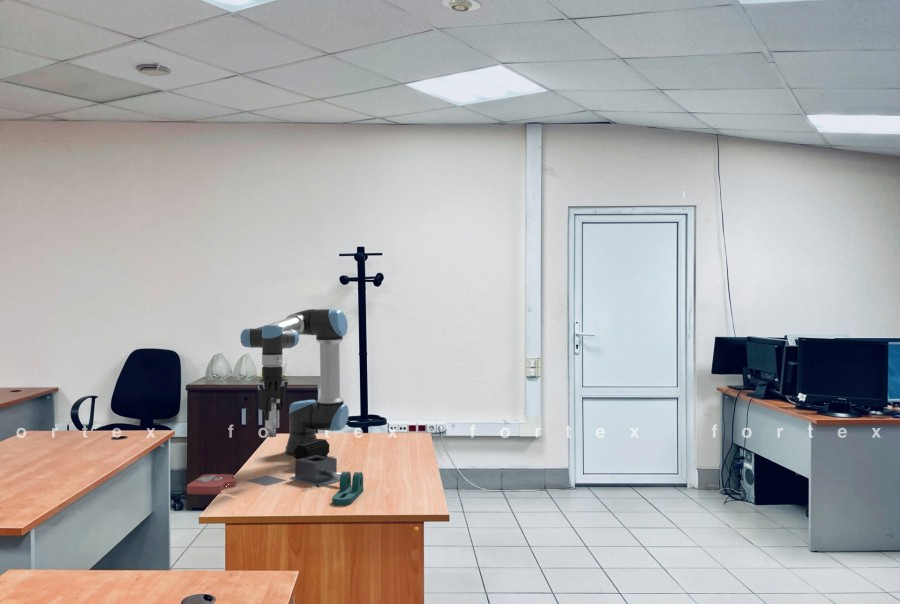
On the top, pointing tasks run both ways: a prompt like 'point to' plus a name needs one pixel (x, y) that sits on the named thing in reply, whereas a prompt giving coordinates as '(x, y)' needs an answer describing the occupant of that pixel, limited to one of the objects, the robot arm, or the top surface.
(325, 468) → the hollow square block
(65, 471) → the top surface
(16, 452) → the top surface
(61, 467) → the top surface
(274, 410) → the silver grey long piece
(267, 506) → the top surface
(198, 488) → the plaque
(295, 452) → the security camera
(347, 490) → the bracket
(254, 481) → the mat
